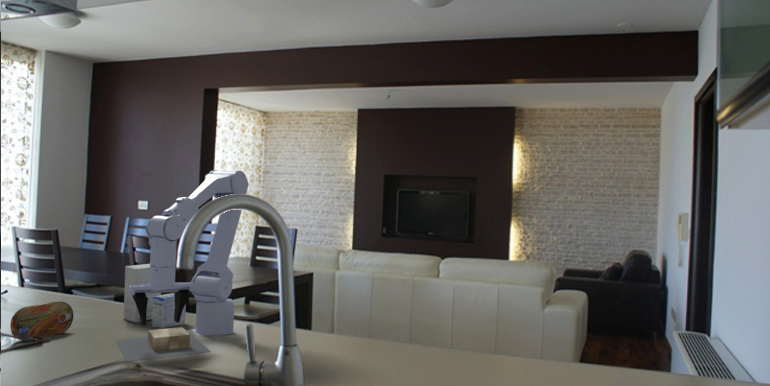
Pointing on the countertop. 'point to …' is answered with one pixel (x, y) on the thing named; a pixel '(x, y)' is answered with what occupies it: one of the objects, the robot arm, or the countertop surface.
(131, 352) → the mat
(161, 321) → the medicine box
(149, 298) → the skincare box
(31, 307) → the tin
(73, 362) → the countertop surface
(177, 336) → the tan flat block
